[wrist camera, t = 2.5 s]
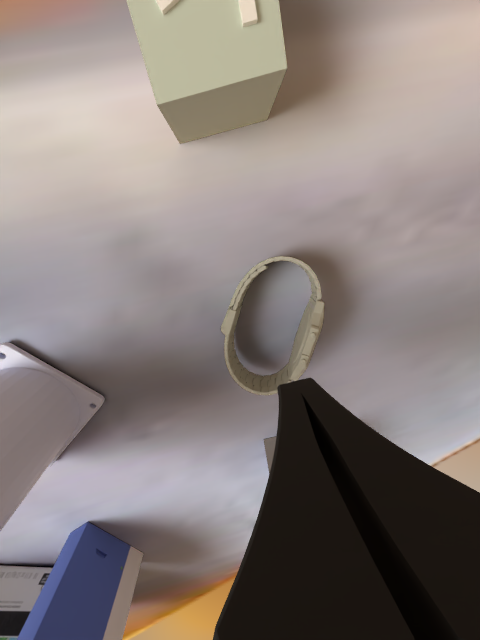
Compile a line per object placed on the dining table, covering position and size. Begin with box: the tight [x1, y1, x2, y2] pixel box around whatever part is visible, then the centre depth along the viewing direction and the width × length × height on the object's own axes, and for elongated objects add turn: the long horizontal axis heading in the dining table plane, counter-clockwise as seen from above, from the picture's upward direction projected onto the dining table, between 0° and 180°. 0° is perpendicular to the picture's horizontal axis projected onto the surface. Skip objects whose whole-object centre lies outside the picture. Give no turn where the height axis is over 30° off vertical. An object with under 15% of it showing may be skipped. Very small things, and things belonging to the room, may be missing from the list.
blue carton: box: [17, 522, 144, 640], centre depth 21 cm, size 8×3×12 cm, turn 37°
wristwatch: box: [221, 256, 324, 395], centre depth 16 cm, size 9×6×5 cm
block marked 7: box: [127, 0, 287, 144], centre depth 10 cm, size 5×5×5 cm
